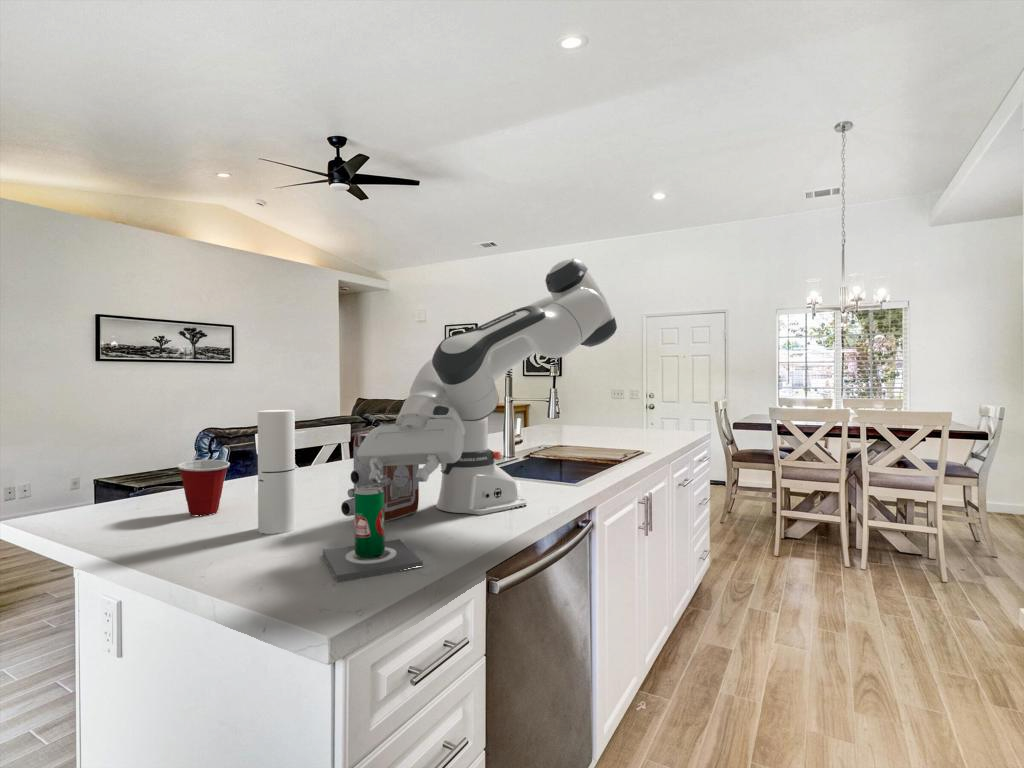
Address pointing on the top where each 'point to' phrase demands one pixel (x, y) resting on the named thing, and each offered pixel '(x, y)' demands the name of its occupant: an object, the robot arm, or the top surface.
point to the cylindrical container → (276, 471)
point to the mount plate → (370, 561)
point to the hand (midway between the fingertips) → (396, 480)
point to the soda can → (369, 521)
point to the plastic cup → (203, 484)
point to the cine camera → (386, 486)
